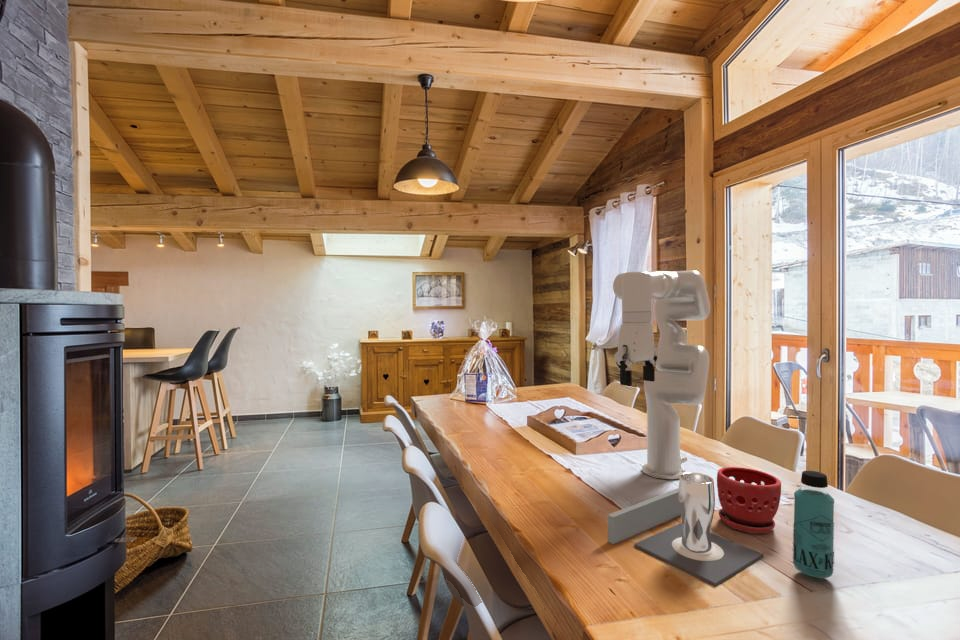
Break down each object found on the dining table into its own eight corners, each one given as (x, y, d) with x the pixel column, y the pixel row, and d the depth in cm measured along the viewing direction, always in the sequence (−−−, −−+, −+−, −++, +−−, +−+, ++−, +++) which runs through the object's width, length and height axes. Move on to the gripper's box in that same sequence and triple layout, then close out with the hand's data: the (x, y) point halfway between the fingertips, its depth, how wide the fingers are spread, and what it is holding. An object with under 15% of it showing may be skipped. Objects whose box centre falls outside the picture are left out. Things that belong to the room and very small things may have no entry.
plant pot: (758, 543, 103) (758, 489, 102) (705, 520, 114) (704, 471, 114) (793, 530, 109) (793, 478, 108) (739, 509, 120) (739, 462, 120)
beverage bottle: (784, 568, 93) (784, 467, 92) (815, 566, 94) (816, 466, 93) (810, 588, 86) (810, 479, 86) (844, 585, 87) (844, 478, 87)
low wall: (682, 510, 120) (682, 486, 120) (687, 512, 119) (687, 488, 119) (607, 541, 105) (607, 514, 104) (613, 544, 103) (613, 517, 103)
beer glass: (719, 558, 96) (719, 484, 95) (682, 555, 97) (682, 482, 97) (709, 541, 103) (709, 472, 102) (675, 538, 104) (675, 471, 104)
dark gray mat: (683, 524, 112) (683, 521, 112) (763, 556, 97) (763, 553, 97) (634, 546, 102) (634, 543, 102) (715, 586, 87) (715, 582, 87)
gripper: (644, 317, 133) (645, 377, 133) (603, 319, 123) (604, 385, 123) (668, 317, 127) (669, 381, 127) (627, 320, 117) (628, 389, 117)
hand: (637, 383), depth 125 cm, fingers open, 9 cm apart
